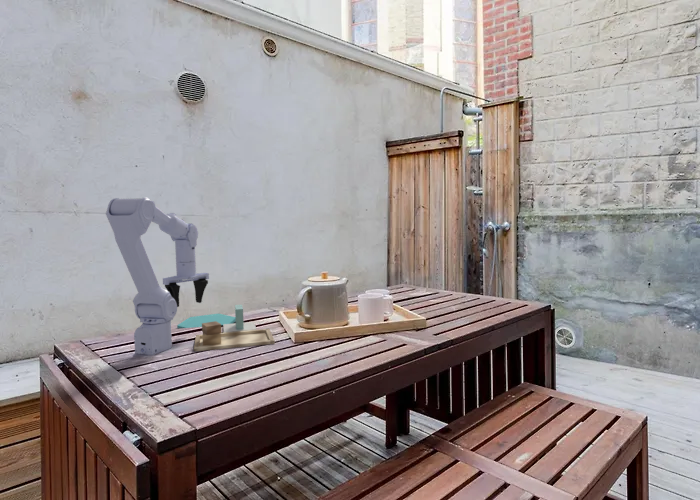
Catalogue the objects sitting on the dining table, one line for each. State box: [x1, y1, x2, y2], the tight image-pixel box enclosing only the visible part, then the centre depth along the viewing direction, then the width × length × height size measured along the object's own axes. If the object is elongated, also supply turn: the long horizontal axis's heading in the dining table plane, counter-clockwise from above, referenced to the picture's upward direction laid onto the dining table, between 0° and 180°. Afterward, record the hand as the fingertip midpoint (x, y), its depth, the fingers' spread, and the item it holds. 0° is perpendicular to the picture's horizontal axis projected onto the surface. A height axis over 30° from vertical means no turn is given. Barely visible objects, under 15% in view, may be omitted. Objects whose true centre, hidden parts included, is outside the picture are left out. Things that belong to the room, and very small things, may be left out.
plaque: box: [176, 312, 236, 329], centre depth 154 cm, size 17×2×20 cm
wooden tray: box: [193, 328, 276, 352], centre depth 130 cm, size 22×14×2 cm, turn 107°
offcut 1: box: [201, 321, 222, 335], centre depth 128 cm, size 4×5×2 cm
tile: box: [222, 321, 257, 333], centre depth 143 cm, size 10×10×2 cm
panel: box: [234, 304, 244, 330], centre depth 142 cm, size 2×7×6 cm, turn 16°
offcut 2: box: [202, 332, 222, 346], centre depth 128 cm, size 5×5×3 cm
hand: (187, 304), depth 139 cm, fingers open, 7 cm apart
